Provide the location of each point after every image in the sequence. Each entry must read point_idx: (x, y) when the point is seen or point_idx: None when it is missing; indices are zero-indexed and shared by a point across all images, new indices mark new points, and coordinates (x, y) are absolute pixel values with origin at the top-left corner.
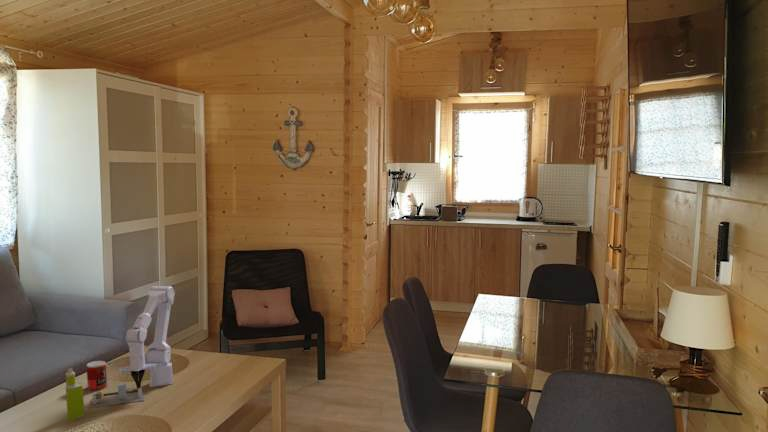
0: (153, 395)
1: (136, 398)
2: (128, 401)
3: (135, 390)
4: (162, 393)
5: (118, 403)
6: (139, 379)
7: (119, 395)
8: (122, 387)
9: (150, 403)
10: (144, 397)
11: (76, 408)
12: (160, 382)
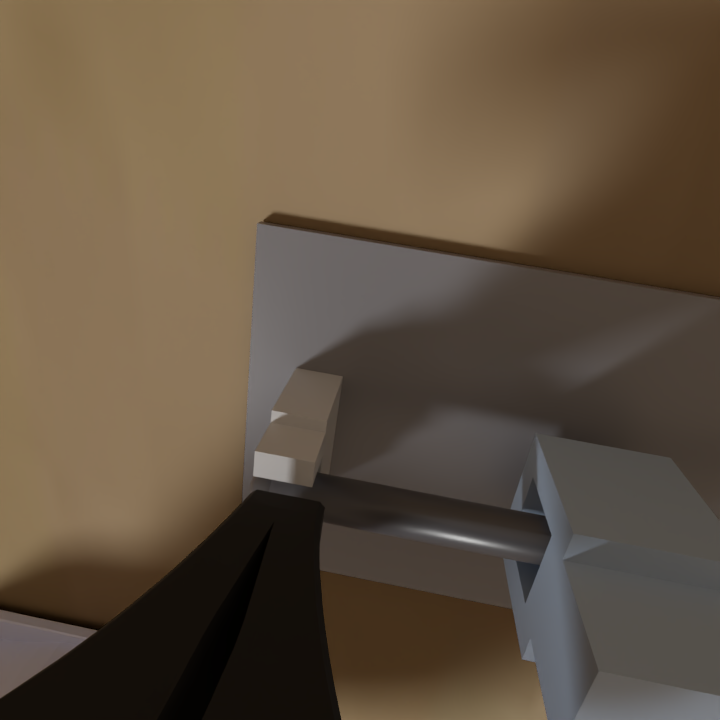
0: (126, 379)
1: (372, 370)
2: (514, 307)
3: (363, 498)
4: (7, 384)
5: (694, 311)
6: (146, 673)
7: (675, 483)
8: (666, 623)
9: (144, 14)
10: (252, 365)
11: None
12: (44, 666)
